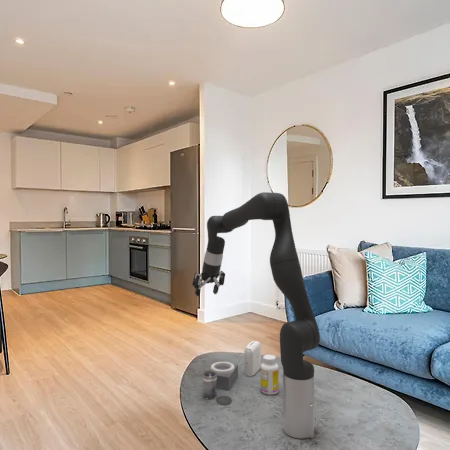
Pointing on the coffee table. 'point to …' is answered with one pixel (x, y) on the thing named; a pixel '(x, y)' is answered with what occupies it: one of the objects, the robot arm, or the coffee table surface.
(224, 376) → the camera body
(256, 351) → the photo printer
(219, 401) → the lens cap
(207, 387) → the lens
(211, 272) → the robot arm
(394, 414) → the coffee table surface
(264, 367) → the supplement bottle
